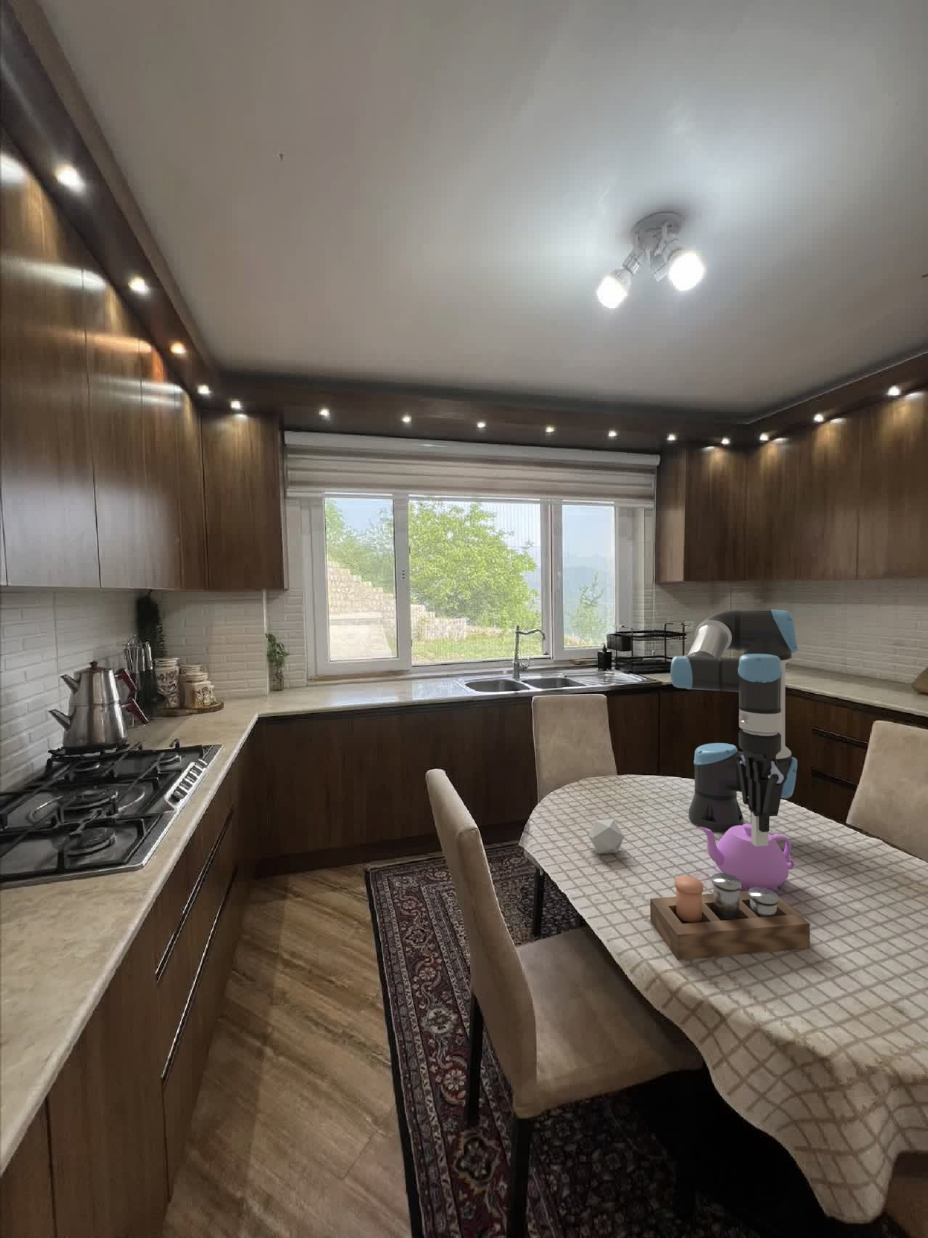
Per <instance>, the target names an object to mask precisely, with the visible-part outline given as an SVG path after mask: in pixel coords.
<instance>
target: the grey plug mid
mask: <svg viewBox="0 0 928 1238" xmlns="http://www.w3.org/2000/svg"><path fill="white" fill-rule="evenodd" d="M711 884H712V886H713V887H712V888H713V891H712V894H713V909H714V912H715V914H717V915H718V916H720V917H722V918H725V919H729V920H734V919H738V918H739V916H740V889H741V881H740V880H739V879H738V878H737V877H735V876H732V875H730V874H725V873H722V872H720V873H719V872H718V873H714V874H712V876H711Z"/></svg>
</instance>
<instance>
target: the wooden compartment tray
mask: <svg viewBox="0 0 928 1238" xmlns="http://www.w3.org/2000/svg"><path fill="white" fill-rule="evenodd" d="M769 890H770V889H769ZM649 907H650V908H649V909H650V911H649V912H650V915H649V916H650V920H649V922H650V923H651V924H652V925H653V927H654V929H655V930H656V932H658V934H659V936H660V937H661V939H663V941H664V943H665V944H666V945H667V947H668V948H669V950H670V951H671V952H672V954H673V955H674V957H675V958H676V959H677V961H680V960H681V961H682V960H692V959H705V958H715V957H724V956H725V957H726V956H735V955H737V956H738V955H748V954H759V953H760V954H761V953H771V952H781V951H783V952H784V951H792V950H793V951H794V950H803V949H804V950H805V949H811V932H810V931H811V923H810V922H809V921H808V920H807V919H805V918H804V917H803V916H802V915H800V913H798V912H797V911H796V910H795V909H794V908H792V907H791V906H790V905H789V904H788V903H786V902H785V901H784V900H783V899H782V898H780V897H779V902H778V904H777V916H771V917H758V916H757V915H756V914H755V913H754V912H753V911H752V910H751V909H750V897H749V891H740V916H739V918H738V919H734V920H729V919H725V918H722V917H720V916H718V915H717V914H715V912H714V909H713V893H705V894H703V893H702V920H701V921H700V922H697V923H690V922H686V921H683V920H682V919H680V918H679V917H678V916H677V914H676V896H665V897H655V898H652V897H651V898H649Z"/></svg>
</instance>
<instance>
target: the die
mask: <svg viewBox="0 0 928 1238" xmlns="http://www.w3.org/2000/svg"><path fill="white" fill-rule="evenodd" d="M592 823H593V824H592V826H591V829H590V831H589V834H588V838H589V840H590V841H591V843H592V845H593V847H594V849H595V850H596V853H597V854H598V855H599V854H601V855H602V854H618V853H619V850H620V848H621V845H622V843H623V841H624V838H625V835H624V834H623V832H622V830H621V829H620V828H619V826H618V824H617V823H616V821H615V819H595V820H594V821H593V822H592Z"/></svg>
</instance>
